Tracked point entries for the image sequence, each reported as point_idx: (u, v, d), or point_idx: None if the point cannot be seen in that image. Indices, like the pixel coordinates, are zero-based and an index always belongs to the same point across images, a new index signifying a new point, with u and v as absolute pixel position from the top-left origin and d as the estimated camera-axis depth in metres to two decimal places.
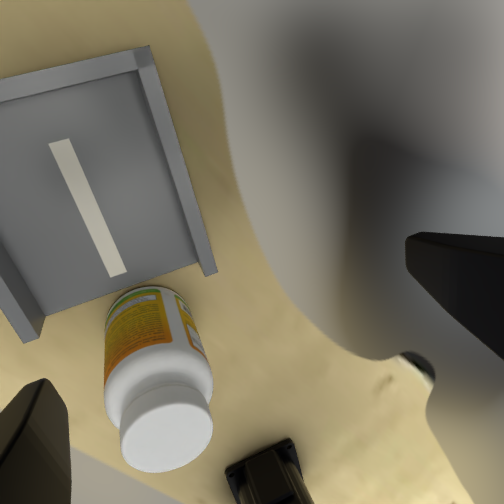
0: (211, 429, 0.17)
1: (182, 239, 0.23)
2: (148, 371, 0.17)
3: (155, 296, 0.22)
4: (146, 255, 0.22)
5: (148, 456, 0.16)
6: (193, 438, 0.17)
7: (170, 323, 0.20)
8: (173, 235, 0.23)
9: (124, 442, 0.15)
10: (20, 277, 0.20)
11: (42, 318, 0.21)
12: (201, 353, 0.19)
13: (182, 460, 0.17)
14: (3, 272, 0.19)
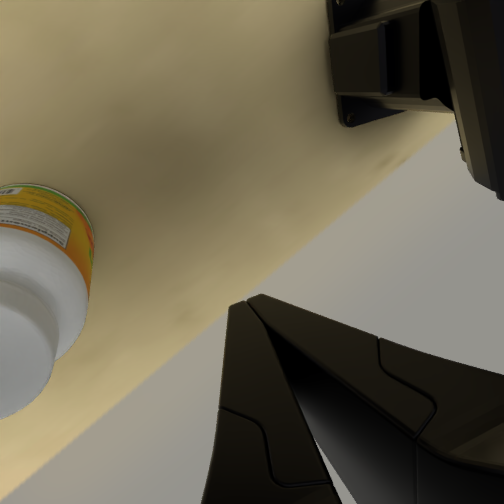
0: None
1: None
2: None
3: None
4: None
5: (3, 390, 0.10)
6: None
7: None
8: None
9: None
10: None
11: None
12: None
13: (26, 340, 0.10)
14: None
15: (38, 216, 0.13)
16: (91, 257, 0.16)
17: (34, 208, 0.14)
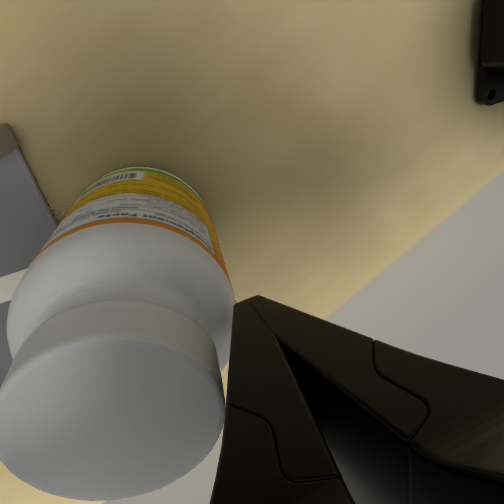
0: (103, 344, 0.06)
1: None
2: None
3: None
4: (10, 235, 0.14)
5: (157, 458, 0.07)
6: (128, 382, 0.06)
7: None
8: None
9: (97, 499, 0.07)
10: None
11: None
12: (50, 244, 0.08)
13: (198, 397, 0.07)
14: None
15: (177, 210, 0.10)
16: None
17: (169, 199, 0.11)
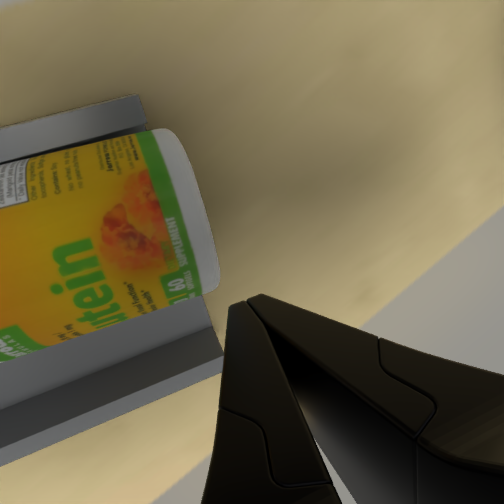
0: None
1: None
2: None
3: None
4: None
5: None
6: None
7: None
8: None
9: None
10: (152, 352, 0.17)
11: (211, 332, 0.17)
12: None
13: None
14: (130, 385, 0.15)
15: (0, 174, 0.09)
16: (77, 256, 0.09)
17: (29, 164, 0.10)
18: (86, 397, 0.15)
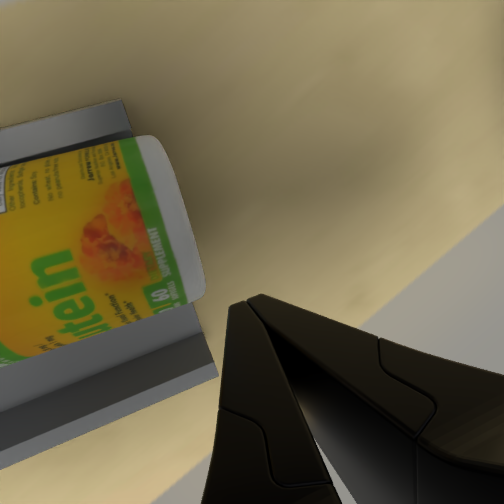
0: None
1: None
2: None
3: None
4: None
5: None
6: None
7: None
8: None
9: None
10: (141, 359, 0.16)
11: (201, 338, 0.17)
12: None
13: None
14: (118, 393, 0.15)
15: None
16: (56, 268, 0.09)
17: (8, 172, 0.09)
18: (73, 405, 0.15)
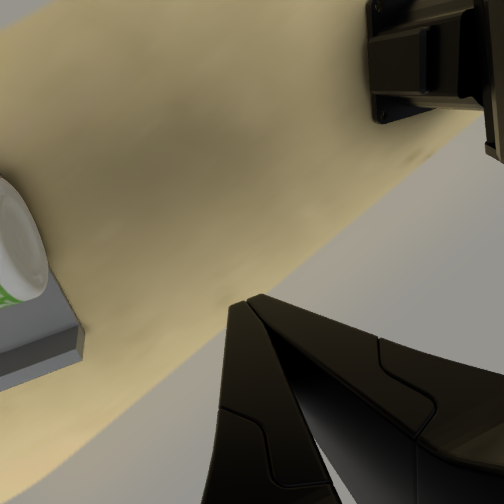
0: None
1: None
2: None
3: None
4: None
5: None
6: None
7: None
8: None
9: None
10: (24, 346, 0.20)
11: (75, 330, 0.20)
12: None
13: None
14: None
15: None
16: None
17: None
18: None
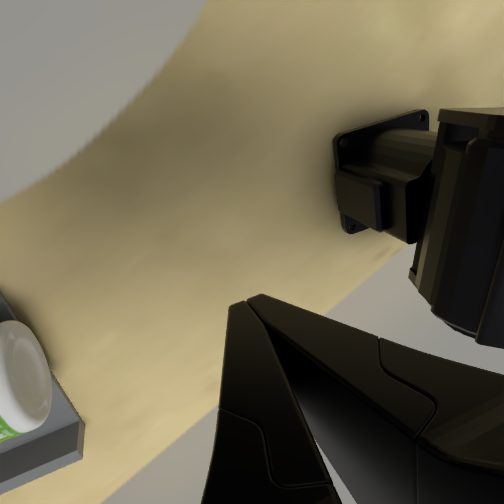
0: None
1: None
2: None
3: None
4: None
5: None
6: None
7: None
8: None
9: None
10: (31, 443, 0.23)
11: (76, 427, 0.23)
12: None
13: None
14: (6, 473, 0.21)
15: None
16: None
17: None
18: None
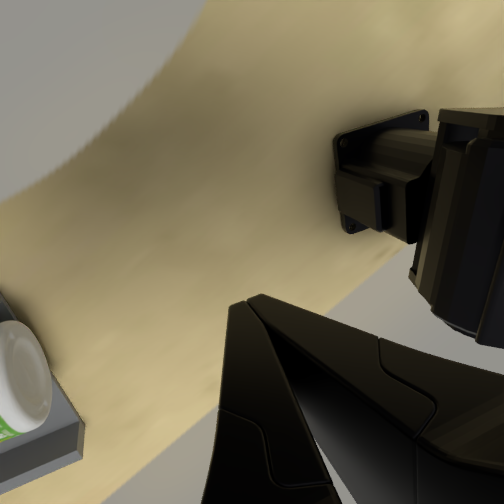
0: None
1: None
2: None
3: None
4: None
5: None
6: None
7: None
8: None
9: None
10: (31, 443, 0.23)
11: (76, 427, 0.23)
12: None
13: None
14: (6, 473, 0.21)
15: None
16: None
17: None
18: None
